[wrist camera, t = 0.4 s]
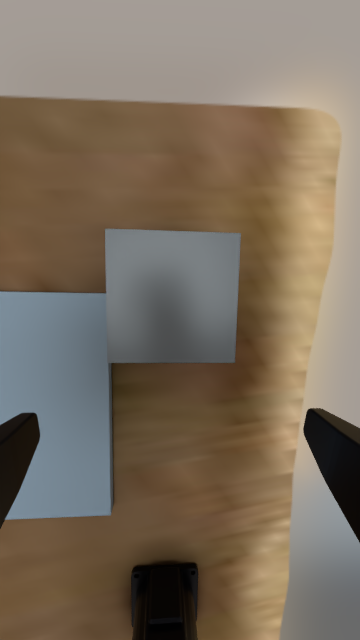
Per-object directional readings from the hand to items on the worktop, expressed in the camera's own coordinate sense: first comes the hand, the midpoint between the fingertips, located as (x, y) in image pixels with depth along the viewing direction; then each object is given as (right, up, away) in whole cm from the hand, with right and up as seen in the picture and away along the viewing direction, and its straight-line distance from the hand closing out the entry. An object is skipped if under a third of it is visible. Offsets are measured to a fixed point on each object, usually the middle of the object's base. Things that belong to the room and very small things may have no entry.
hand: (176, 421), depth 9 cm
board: (-13, -4, +14) cm, 20 cm away
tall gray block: (-1, +6, +14) cm, 15 cm away
